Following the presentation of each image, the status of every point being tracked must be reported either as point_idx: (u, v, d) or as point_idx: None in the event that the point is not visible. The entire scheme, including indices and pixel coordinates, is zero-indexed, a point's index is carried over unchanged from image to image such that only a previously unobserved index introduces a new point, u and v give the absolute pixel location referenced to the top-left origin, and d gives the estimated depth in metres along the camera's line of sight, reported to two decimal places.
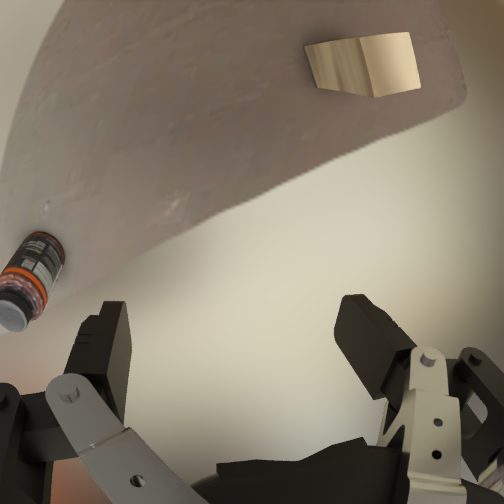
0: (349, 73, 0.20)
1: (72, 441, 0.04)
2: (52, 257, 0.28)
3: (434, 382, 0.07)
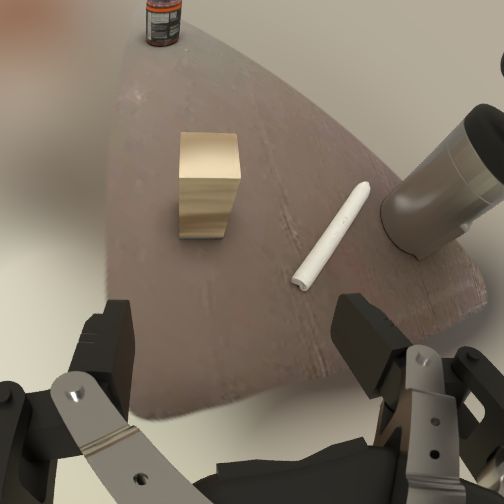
0: None
1: (76, 439, 0.05)
2: (161, 33, 0.41)
3: (430, 381, 0.07)
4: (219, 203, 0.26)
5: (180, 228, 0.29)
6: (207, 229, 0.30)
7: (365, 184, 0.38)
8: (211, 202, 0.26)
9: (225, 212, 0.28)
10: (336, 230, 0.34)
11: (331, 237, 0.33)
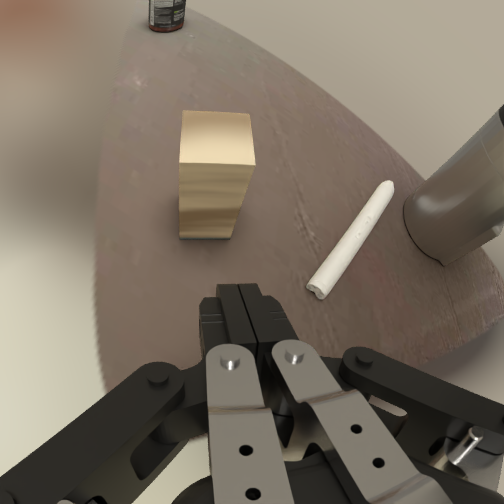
0: None
1: (209, 398, 0.06)
2: (165, 17, 0.37)
3: (317, 379, 0.07)
4: (228, 196, 0.21)
5: (180, 226, 0.25)
6: (212, 228, 0.26)
7: (389, 183, 0.33)
8: (218, 195, 0.21)
9: (234, 208, 0.23)
10: (358, 231, 0.29)
11: (353, 239, 0.29)
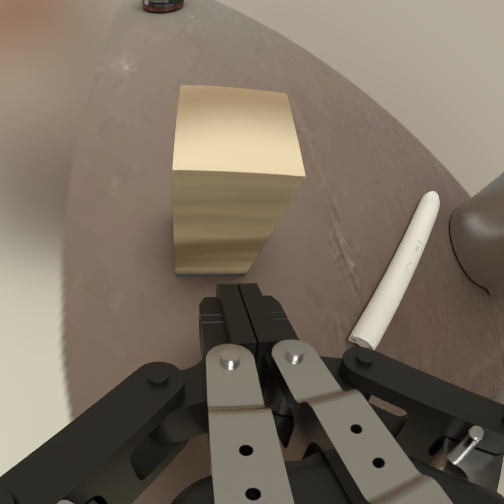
0: None
1: (209, 398, 0.06)
2: None
3: (316, 379, 0.07)
4: (251, 223, 0.14)
5: (177, 261, 0.17)
6: (222, 263, 0.18)
7: (435, 195, 0.26)
8: (236, 222, 0.13)
9: (258, 239, 0.15)
10: (409, 260, 0.22)
11: (404, 271, 0.21)
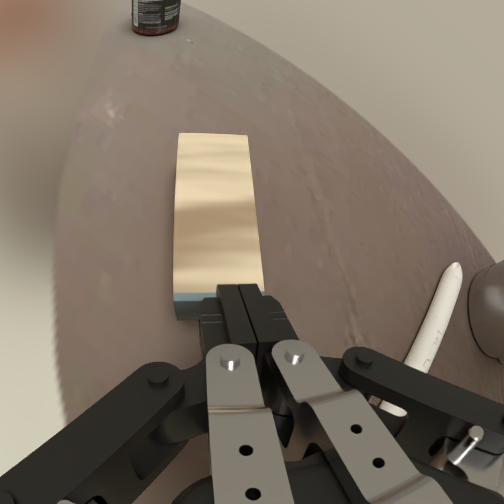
0: None
1: (209, 398, 0.06)
2: (153, 15, 0.26)
3: (316, 379, 0.07)
4: (233, 177, 0.18)
5: (175, 251, 0.16)
6: (226, 256, 0.16)
7: (458, 269, 0.23)
8: (221, 176, 0.18)
9: (247, 201, 0.18)
10: (427, 357, 0.19)
11: (420, 370, 0.19)
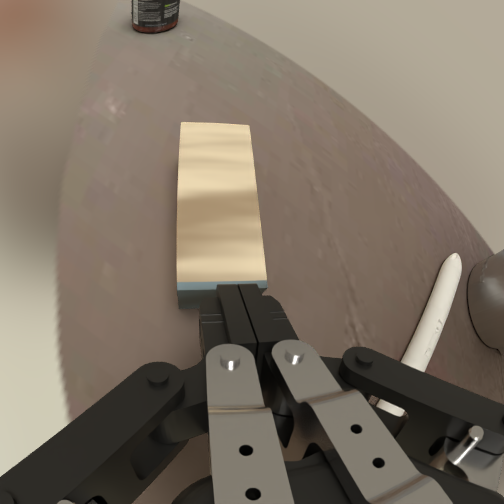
0: None
1: (209, 398, 0.06)
2: (152, 13, 0.26)
3: (316, 379, 0.07)
4: (235, 167, 0.18)
5: (179, 240, 0.16)
6: (229, 245, 0.16)
7: (457, 260, 0.23)
8: (223, 166, 0.18)
9: (249, 191, 0.18)
10: (428, 346, 0.19)
11: (422, 359, 0.19)
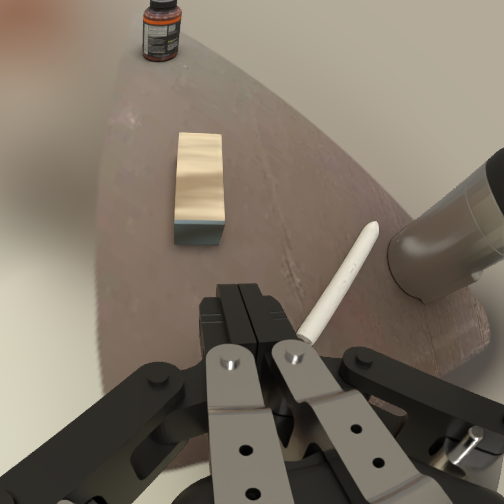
0: None
1: (209, 398, 0.06)
2: (159, 47, 0.39)
3: (316, 379, 0.07)
4: (210, 159, 0.31)
5: (176, 198, 0.28)
6: (204, 201, 0.29)
7: (374, 225, 0.36)
8: (204, 159, 0.30)
9: (218, 173, 0.30)
10: (344, 279, 0.32)
11: (339, 287, 0.31)
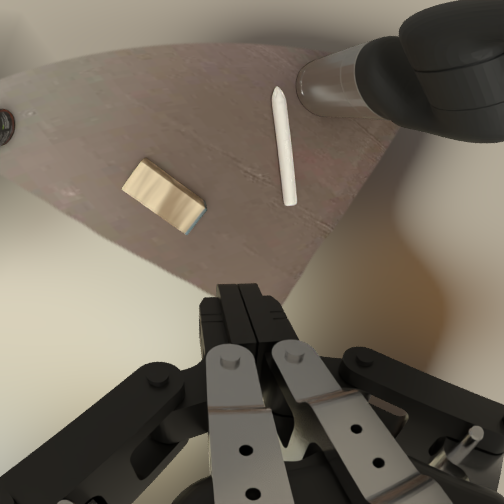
0: None
1: (209, 398, 0.06)
2: (3, 137, 0.32)
3: (316, 379, 0.07)
4: (158, 184, 0.39)
5: (172, 224, 0.41)
6: (185, 210, 0.41)
7: (278, 96, 0.40)
8: (154, 188, 0.39)
9: (171, 187, 0.39)
10: (286, 156, 0.44)
11: (287, 164, 0.44)
